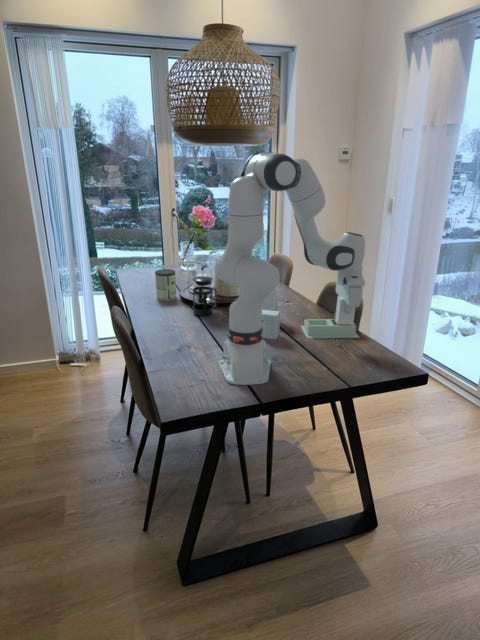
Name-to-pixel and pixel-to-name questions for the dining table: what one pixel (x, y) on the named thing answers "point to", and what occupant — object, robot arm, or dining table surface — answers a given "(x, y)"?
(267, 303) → the milk bottle
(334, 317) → the walnut block
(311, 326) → the dock
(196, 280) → the french press
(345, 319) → the plug block
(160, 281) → the coffee can
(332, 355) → the dining table surface
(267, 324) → the small box
